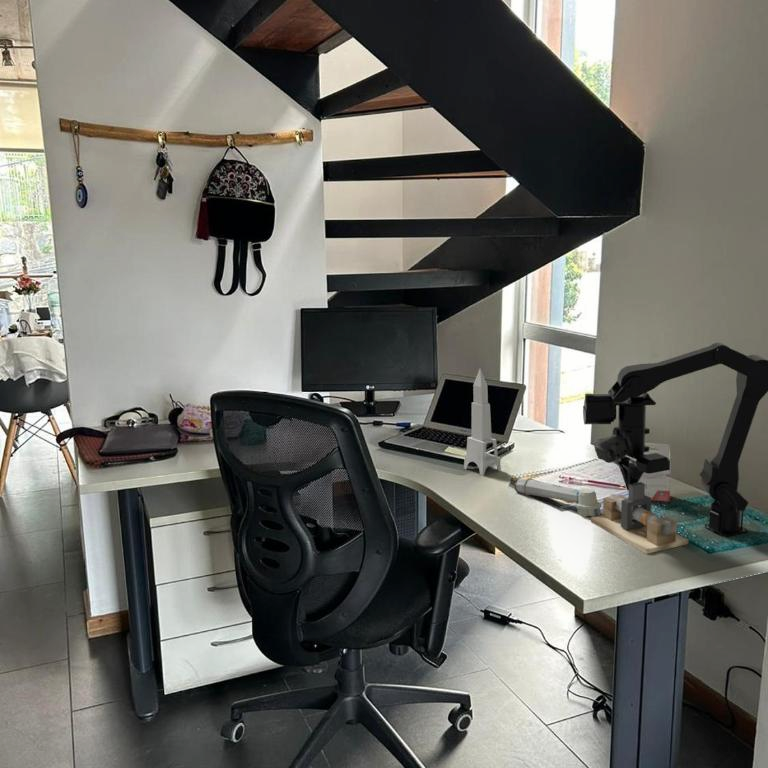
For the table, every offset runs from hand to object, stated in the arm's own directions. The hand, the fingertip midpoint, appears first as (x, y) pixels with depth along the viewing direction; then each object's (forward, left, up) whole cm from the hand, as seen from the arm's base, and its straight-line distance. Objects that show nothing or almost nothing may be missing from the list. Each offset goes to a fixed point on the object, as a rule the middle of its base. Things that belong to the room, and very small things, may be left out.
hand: (630, 490), depth 163 cm
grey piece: (+6, -20, -9) cm, 23 cm away
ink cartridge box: (-17, -13, -9) cm, 23 cm away
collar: (0, +2, -8) cm, 8 cm away
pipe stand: (0, +3, -9) cm, 9 cm away
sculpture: (+10, -52, -9) cm, 53 cm away
